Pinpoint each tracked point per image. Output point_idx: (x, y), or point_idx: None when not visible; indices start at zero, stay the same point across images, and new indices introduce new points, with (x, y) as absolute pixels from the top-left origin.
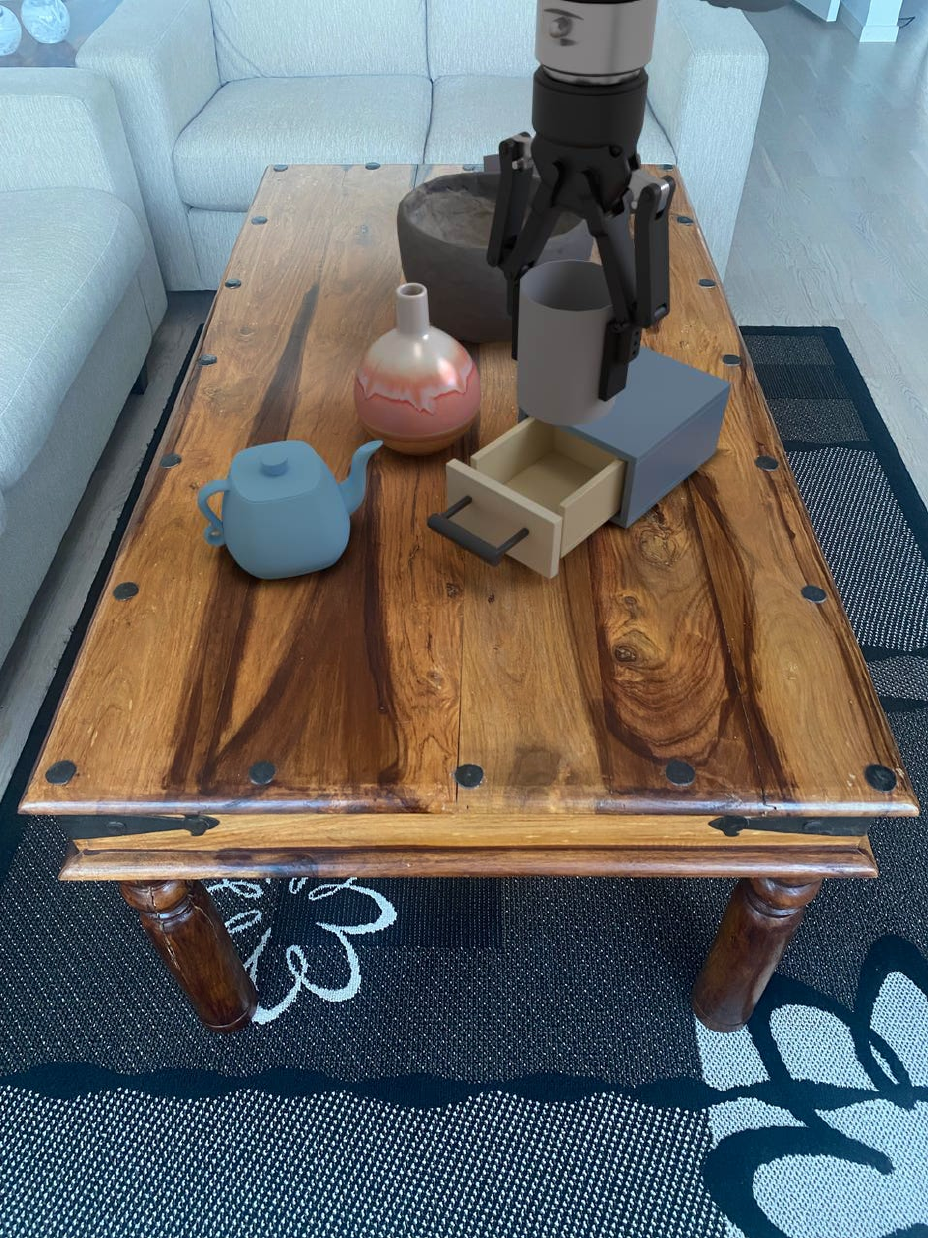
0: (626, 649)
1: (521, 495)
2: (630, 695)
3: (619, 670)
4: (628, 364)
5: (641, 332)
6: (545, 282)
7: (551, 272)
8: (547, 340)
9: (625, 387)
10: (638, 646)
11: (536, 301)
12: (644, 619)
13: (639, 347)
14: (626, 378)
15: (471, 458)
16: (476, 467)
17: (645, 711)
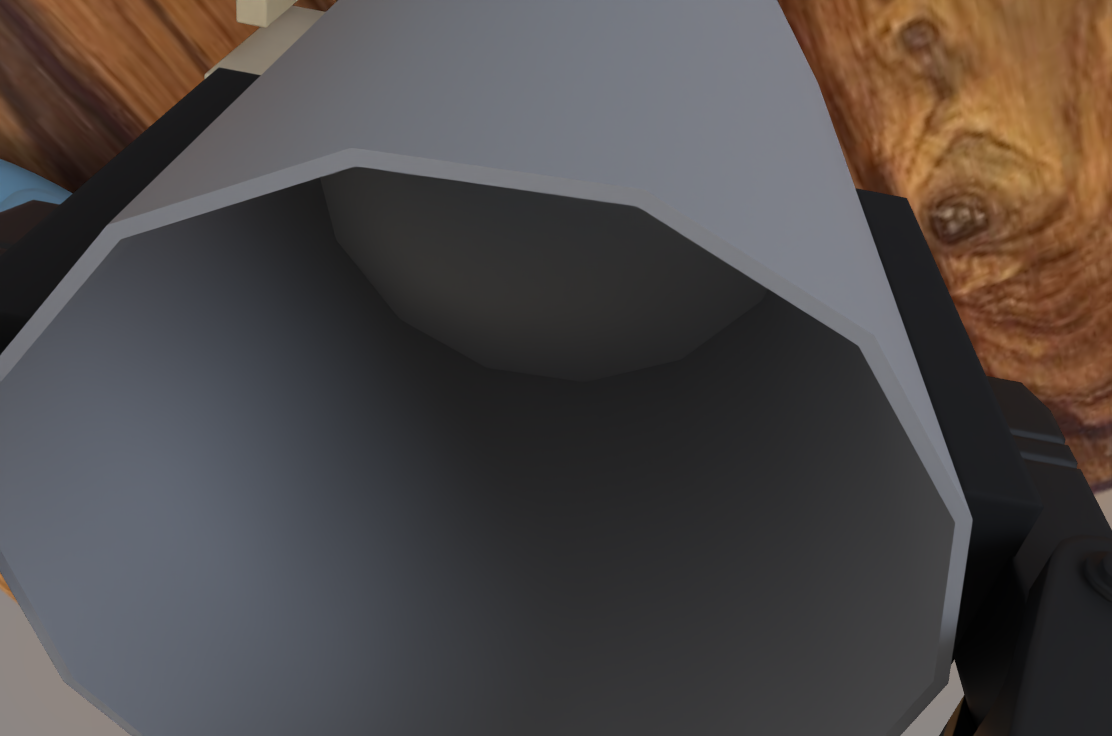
0: (957, 204)
1: None
2: (1002, 319)
3: (957, 269)
4: (938, 273)
5: (1101, 518)
6: (96, 301)
7: (73, 303)
8: (524, 677)
9: (907, 203)
10: (985, 181)
11: (149, 305)
12: (978, 84)
13: (1063, 442)
14: (918, 230)
15: (243, 22)
16: (277, 17)
17: (1046, 342)
